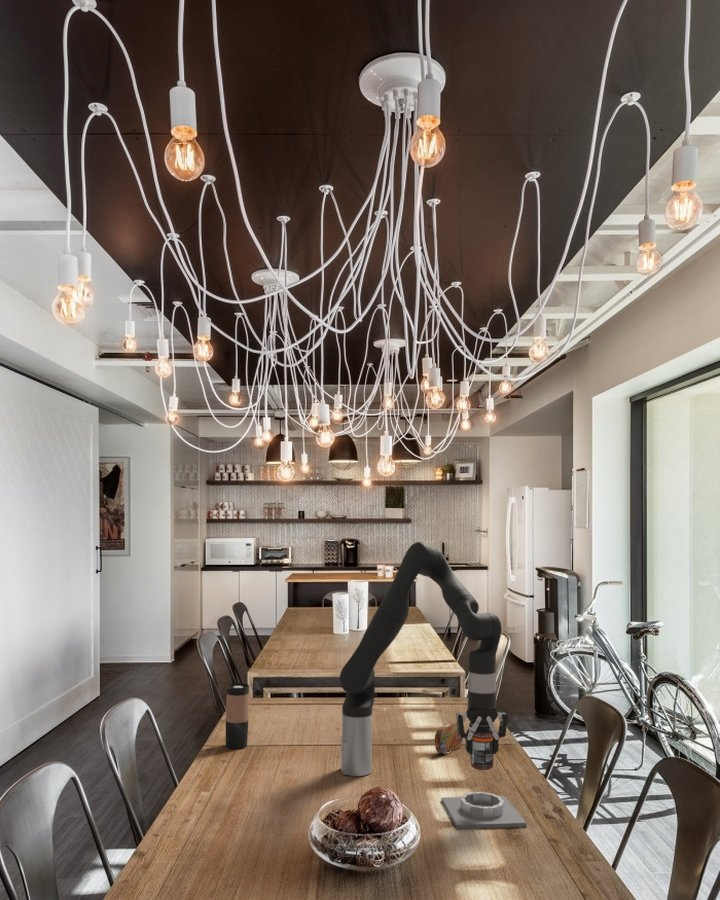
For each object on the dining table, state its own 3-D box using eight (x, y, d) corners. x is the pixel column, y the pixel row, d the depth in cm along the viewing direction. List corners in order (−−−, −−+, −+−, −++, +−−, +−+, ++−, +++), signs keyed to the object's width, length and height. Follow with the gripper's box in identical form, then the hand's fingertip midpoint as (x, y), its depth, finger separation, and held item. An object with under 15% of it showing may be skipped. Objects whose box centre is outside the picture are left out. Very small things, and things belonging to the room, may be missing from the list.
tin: (441, 757, 238) (441, 730, 238) (432, 755, 239) (432, 729, 240) (463, 746, 250) (463, 720, 250) (455, 744, 251) (455, 719, 252)
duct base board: (457, 829, 183) (457, 825, 183) (441, 801, 201) (441, 797, 201) (526, 826, 185) (526, 822, 185) (504, 799, 203) (504, 795, 203)
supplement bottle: (477, 761, 198) (478, 718, 199) (497, 766, 194) (497, 723, 195) (466, 767, 193) (466, 723, 194) (486, 772, 190) (486, 727, 191)
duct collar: (467, 818, 187) (467, 808, 187) (456, 802, 198) (456, 792, 198) (508, 817, 188) (508, 807, 188) (496, 801, 199) (496, 791, 199)
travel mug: (250, 743, 249) (251, 683, 251) (244, 750, 242) (246, 688, 244) (228, 742, 250) (230, 682, 252) (222, 749, 243) (223, 687, 244)
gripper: (503, 685, 200) (503, 748, 199) (452, 685, 199) (452, 749, 197) (512, 692, 193) (512, 757, 191) (459, 692, 191) (458, 758, 190)
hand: (481, 753), depth 194 cm, fingers closed on supplement bottle, 6 cm apart
